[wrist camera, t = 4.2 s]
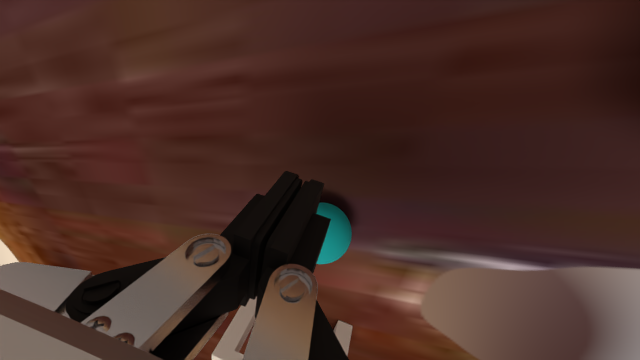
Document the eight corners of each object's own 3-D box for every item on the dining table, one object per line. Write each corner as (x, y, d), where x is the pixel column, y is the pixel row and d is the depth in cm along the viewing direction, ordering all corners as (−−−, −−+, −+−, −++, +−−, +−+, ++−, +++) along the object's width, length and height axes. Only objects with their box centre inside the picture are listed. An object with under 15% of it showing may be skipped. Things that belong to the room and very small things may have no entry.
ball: (308, 184, 24) (286, 218, 20) (363, 202, 23) (353, 243, 19) (299, 225, 27) (278, 263, 23) (347, 243, 26) (335, 286, 22)
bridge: (253, 285, 35) (211, 354, 27) (352, 325, 33) (337, 412, 26) (252, 297, 37) (212, 366, 29) (346, 336, 35) (330, 421, 27)
